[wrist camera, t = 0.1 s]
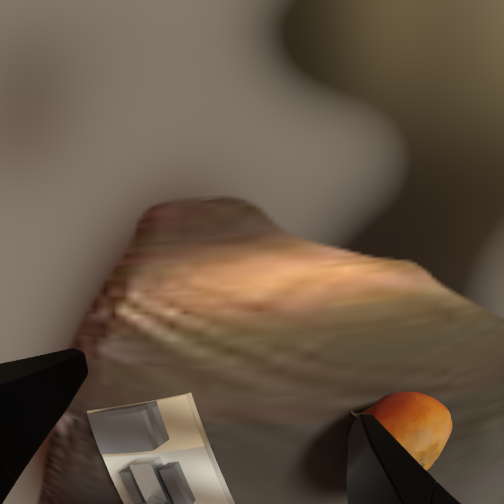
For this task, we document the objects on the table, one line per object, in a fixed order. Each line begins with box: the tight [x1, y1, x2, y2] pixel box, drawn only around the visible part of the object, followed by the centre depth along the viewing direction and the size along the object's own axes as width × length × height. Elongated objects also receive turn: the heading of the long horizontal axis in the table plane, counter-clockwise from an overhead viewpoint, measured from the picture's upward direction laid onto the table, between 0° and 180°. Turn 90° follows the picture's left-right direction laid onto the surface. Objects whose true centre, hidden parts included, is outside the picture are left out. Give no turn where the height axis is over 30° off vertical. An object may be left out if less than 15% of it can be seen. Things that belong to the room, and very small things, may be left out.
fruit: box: [350, 392, 452, 470], centre depth 16 cm, size 8×8×8 cm
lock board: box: [87, 392, 235, 504], centre depth 16 cm, size 15×10×5 cm, turn 18°
